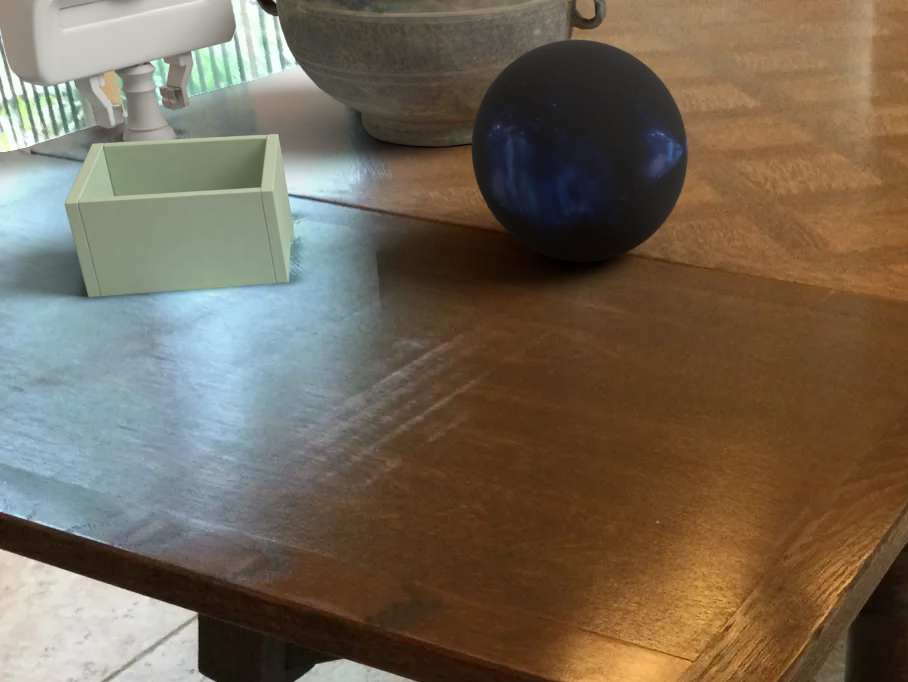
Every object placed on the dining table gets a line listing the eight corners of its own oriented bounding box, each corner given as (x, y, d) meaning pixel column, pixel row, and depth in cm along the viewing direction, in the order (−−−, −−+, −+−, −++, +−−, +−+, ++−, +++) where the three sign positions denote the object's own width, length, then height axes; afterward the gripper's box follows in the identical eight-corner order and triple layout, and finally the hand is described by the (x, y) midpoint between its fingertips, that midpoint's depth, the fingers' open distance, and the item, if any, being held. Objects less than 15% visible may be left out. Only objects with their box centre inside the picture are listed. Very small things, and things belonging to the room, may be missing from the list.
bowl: (213, 156, 116) (178, -29, 108) (329, 78, 138) (307, -80, 130) (577, 179, 113) (569, -10, 105) (637, 96, 135) (634, -66, 126)
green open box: (92, 315, 88) (63, 203, 84) (116, 246, 99) (91, 143, 94) (291, 300, 91) (273, 190, 87) (294, 234, 101) (278, 133, 97)
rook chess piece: (118, 150, 117) (96, 55, 113) (170, 141, 120) (150, 48, 115) (135, 163, 114) (113, 67, 110) (187, 154, 117) (168, 59, 112)
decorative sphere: (459, 290, 93) (437, 67, 85) (504, 215, 105) (489, 14, 97) (677, 299, 92) (676, 75, 84) (695, 223, 105) (697, 21, 96)
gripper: (184, -79, 117) (215, 84, 124) (-33, -44, 102) (16, 139, 109) (236, -72, 114) (263, 95, 121) (20, -34, 99) (67, 152, 107)
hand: (145, 116), depth 115 cm, fingers open, 5 cm apart
